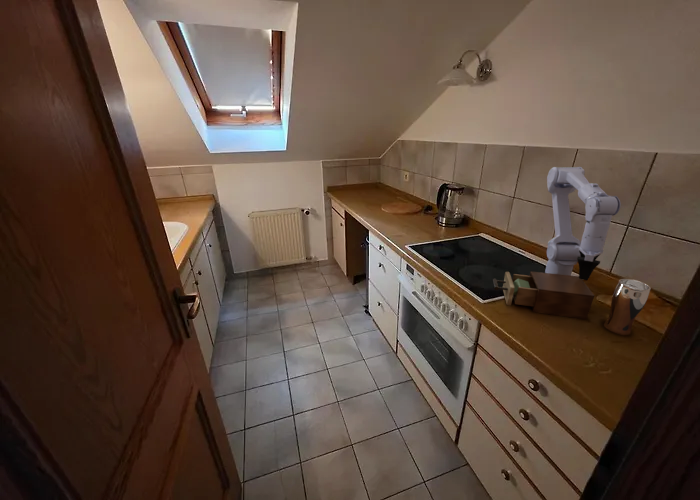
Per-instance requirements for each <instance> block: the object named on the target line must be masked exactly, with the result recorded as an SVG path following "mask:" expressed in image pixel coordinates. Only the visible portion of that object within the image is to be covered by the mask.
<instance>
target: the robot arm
mask: <svg viewBox="0 0 700 500" xmlns="http://www.w3.org/2000/svg"><path fill="white" fill-rule="evenodd" d="M585 171H586V170H585V169H584V168H583V167H582V166H572V167H571V166H569V167H568V166H566V167H565V166H564V167H563V166H561V167H560V166H559V167H558V166H553V167H551V168H550V169H549V170H548V173H547V176H546V185H547V192H548V193H550V194H551V202H552V212H553V226H554V235H555V236H554V237H553V238H551V239H550V240H549V241H548V242H547V249H546V257H547V259H548V260H547V262H546V266H545V271H544V273H551V274H560V275H569V276H572V273H573V270H574V266H575V265H577V264H578V276H579V279H582V280H583V281H588V280H589V279H590V277H591V275H592V273H593V272H594V270H595V269H596V267H598V266H599V265H600V264H601V260H597V259H598V257H599V256H600V255H602V254H603V253H604V248H605V247H604V246H605V243H606V240H607V237H608V233H609V229H610V227H611V223H612V218H613V217H614V216H616V215H617V214H618V213H620V212H619V211H620V209H621V205H622V204H621V200H620V198H619V196H617V195H609V194H607V193H606V192H605V191H604V190H603V189H602V188H601V187H600V185H599V184H598V183H596V182H594V183H592V182H589V180H588V179H587V178H586V176H585V173H586V172H585ZM576 190H577V197H578V198H579V199H580V200H581V201H582V202H583V203H584V205H585V206H584V210H585V216H584V220H585V226H584V230H583V232H582V236H581V240H580V239H579V238H578V237H577V236H574V234H573V228H572V219H571V209H570V199H569V195H570V194H572V193H574V192H575V191H576Z"/></svg>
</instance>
